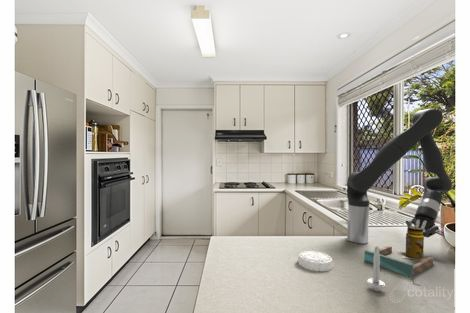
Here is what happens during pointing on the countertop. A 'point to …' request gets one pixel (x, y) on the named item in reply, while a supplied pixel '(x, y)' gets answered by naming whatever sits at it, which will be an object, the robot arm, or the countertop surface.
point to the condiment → (414, 244)
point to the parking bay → (397, 262)
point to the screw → (376, 273)
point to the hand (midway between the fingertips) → (415, 242)
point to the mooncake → (315, 261)
